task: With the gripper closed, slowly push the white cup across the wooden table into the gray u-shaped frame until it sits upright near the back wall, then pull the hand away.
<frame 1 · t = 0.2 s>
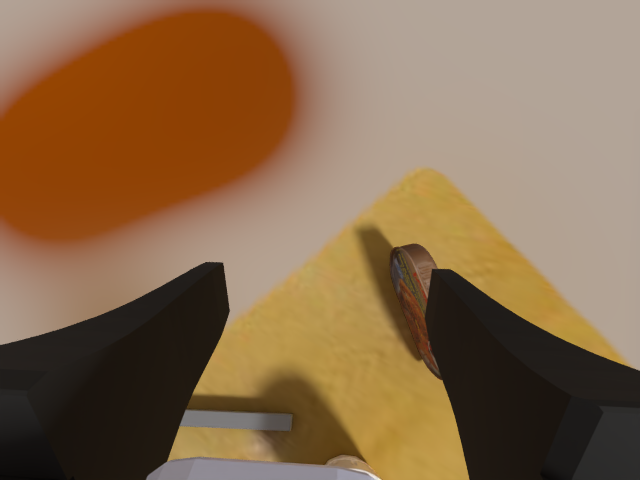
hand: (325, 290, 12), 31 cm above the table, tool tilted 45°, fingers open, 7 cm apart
tin: (417, 314, 43), on the table
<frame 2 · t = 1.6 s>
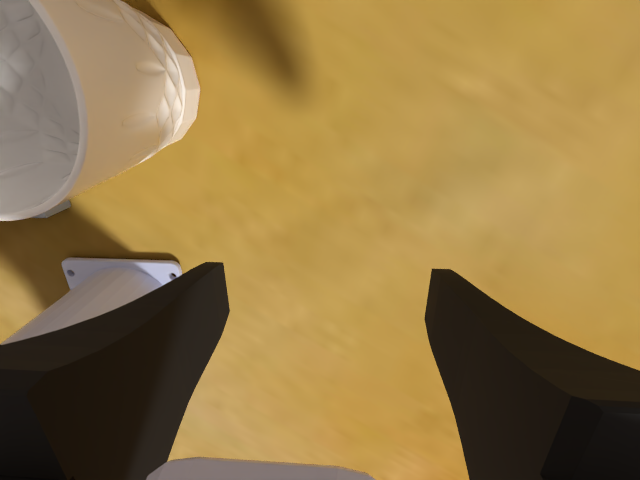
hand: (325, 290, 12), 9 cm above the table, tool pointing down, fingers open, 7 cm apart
white cup: (141, 84, 19), on the table
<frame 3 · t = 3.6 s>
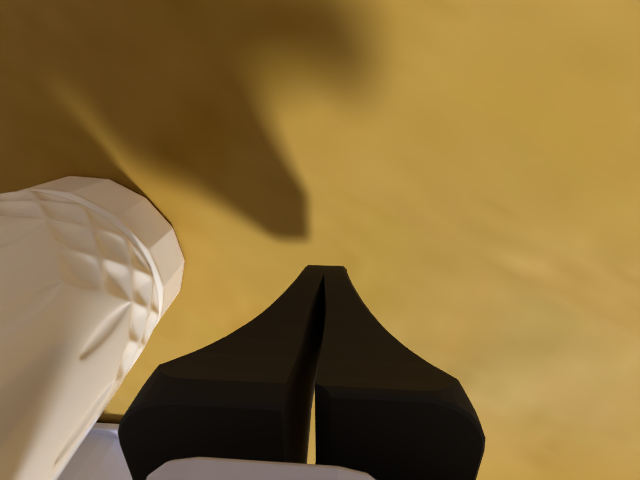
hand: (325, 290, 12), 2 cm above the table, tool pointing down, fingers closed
white cup: (111, 249, 15), on the table
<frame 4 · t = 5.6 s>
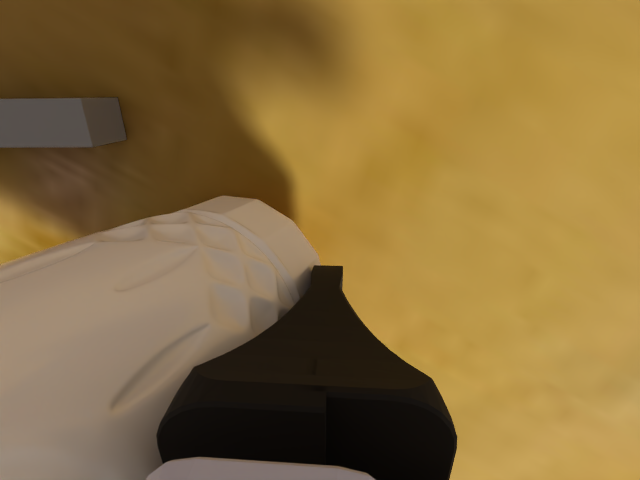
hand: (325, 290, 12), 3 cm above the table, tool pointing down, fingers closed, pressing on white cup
white cup: (253, 272, 14), point 1 cm above the table, touching gripper
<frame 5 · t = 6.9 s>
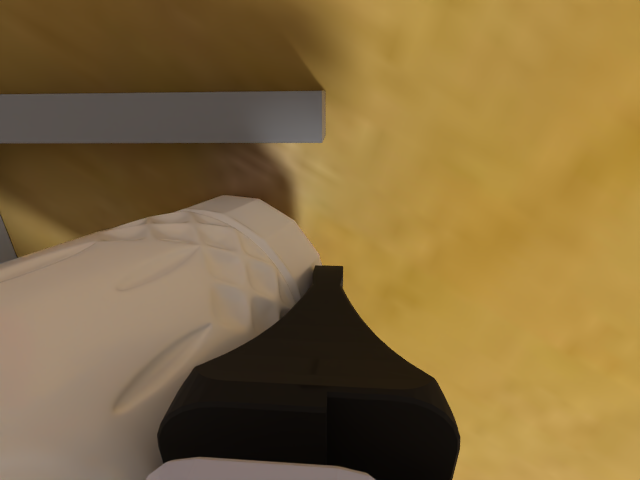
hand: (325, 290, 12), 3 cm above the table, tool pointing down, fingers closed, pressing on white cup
gray u-shaped frame: (124, 263, 16), on the table
white cup: (254, 272, 14), point 1 cm above the table, touching gripper
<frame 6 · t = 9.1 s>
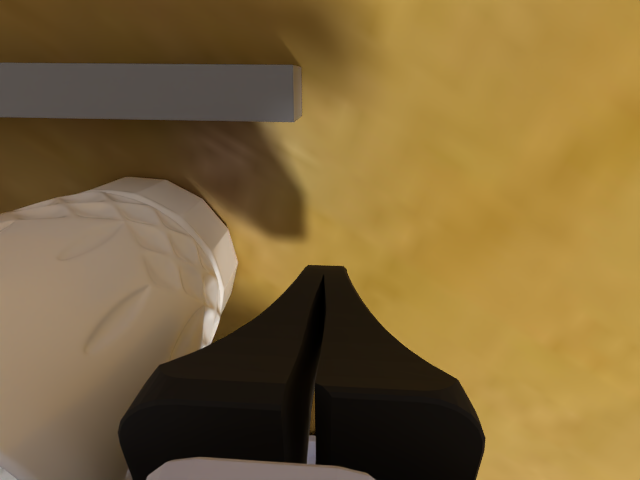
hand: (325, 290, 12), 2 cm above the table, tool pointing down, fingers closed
gray u-shaped frame: (93, 248, 15), on the table
white cup: (162, 251, 15), on the table
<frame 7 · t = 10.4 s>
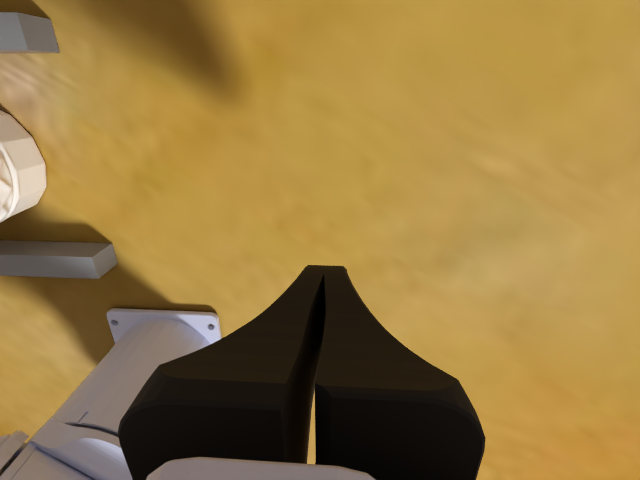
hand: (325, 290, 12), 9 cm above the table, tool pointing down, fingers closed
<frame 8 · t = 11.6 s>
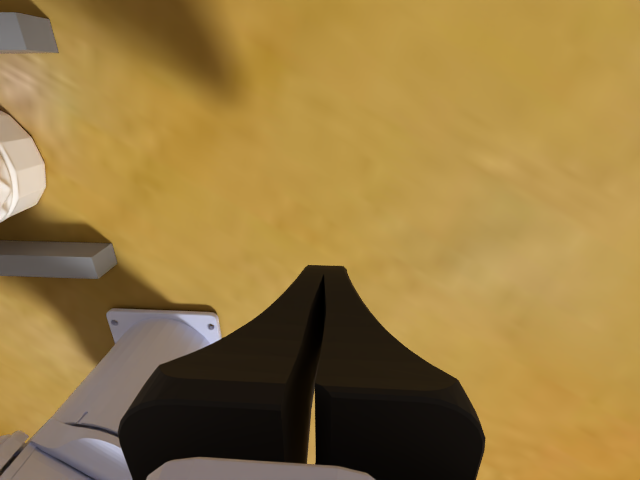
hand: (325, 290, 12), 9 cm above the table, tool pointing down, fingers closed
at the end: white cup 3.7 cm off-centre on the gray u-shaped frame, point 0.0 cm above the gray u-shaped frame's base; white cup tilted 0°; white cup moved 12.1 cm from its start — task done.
